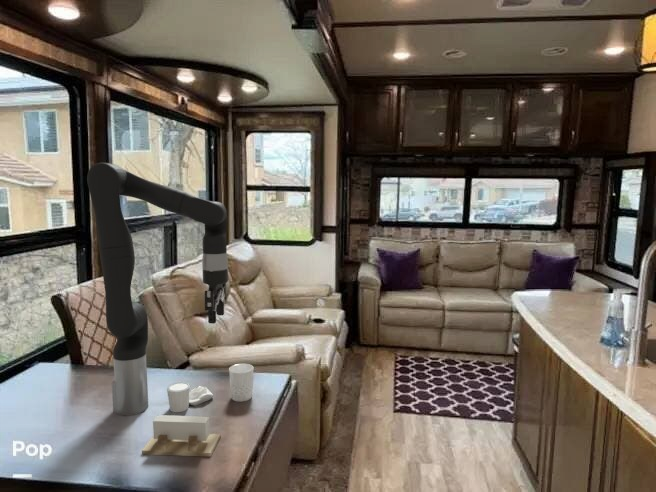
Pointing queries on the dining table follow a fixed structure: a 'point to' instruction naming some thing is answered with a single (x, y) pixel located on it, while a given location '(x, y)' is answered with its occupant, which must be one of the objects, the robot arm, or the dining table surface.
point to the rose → (199, 395)
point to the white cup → (241, 382)
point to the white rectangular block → (181, 427)
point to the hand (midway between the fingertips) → (216, 319)
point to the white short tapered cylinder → (178, 396)
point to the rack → (182, 446)
